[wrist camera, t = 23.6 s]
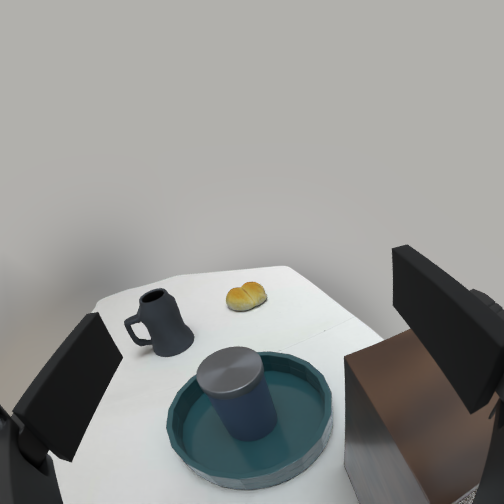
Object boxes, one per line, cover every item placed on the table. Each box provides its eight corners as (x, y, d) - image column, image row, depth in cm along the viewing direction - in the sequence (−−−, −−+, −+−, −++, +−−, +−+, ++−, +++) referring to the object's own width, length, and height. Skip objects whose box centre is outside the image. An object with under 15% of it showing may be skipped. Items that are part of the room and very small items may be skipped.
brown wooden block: (479, 486, 11) (573, 375, 5) (377, 547, 11) (435, 514, 5) (434, 420, 22) (471, 295, 16) (343, 464, 22) (343, 356, 16)
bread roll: (223, 302, 65) (219, 287, 63) (258, 288, 67) (254, 273, 66) (234, 317, 57) (229, 301, 56) (272, 302, 59) (268, 286, 58)
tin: (284, 435, 28) (266, 383, 24) (226, 447, 27) (194, 398, 24) (273, 395, 34) (256, 340, 31) (223, 406, 34) (197, 354, 31)
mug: (186, 324, 58) (168, 279, 55) (200, 343, 51) (180, 294, 47) (138, 345, 54) (116, 301, 50) (145, 368, 46) (118, 320, 42)
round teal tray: (355, 461, 22) (357, 447, 20) (176, 496, 21) (160, 485, 20) (307, 355, 41) (304, 336, 40) (183, 385, 40) (174, 368, 39)
